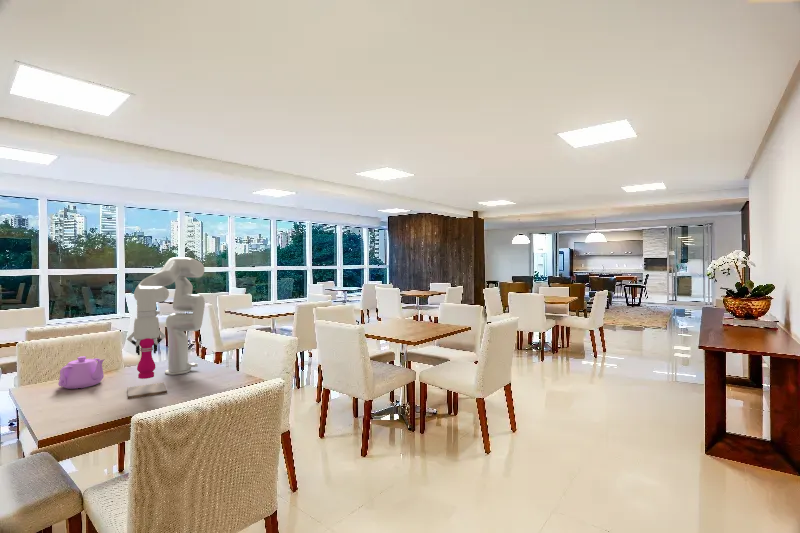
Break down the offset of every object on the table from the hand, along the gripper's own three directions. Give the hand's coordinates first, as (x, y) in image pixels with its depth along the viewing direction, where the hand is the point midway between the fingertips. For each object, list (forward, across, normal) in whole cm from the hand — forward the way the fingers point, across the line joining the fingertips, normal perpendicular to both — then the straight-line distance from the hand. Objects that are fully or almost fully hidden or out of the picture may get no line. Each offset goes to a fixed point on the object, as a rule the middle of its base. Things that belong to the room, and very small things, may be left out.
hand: (146, 353), depth 196 cm
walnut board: (+18, 0, 0) cm, 18 cm away
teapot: (+18, +24, -26) cm, 40 cm away
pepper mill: (+11, 0, 0) cm, 11 cm away
